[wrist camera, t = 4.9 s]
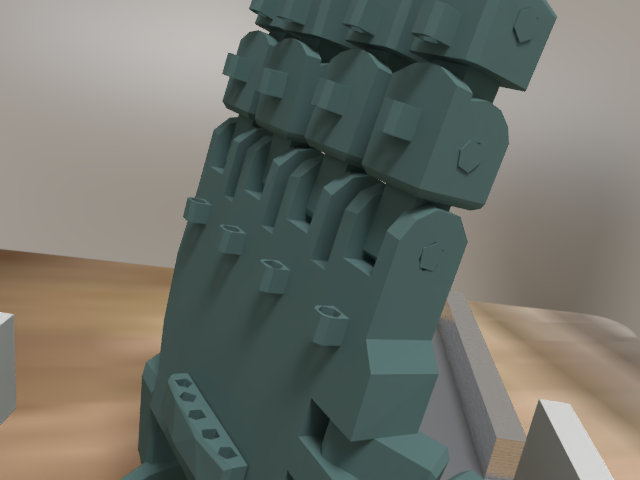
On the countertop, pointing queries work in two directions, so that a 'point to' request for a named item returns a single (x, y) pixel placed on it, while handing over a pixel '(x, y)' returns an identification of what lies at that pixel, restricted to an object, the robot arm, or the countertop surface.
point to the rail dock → (470, 400)
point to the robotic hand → (331, 239)
